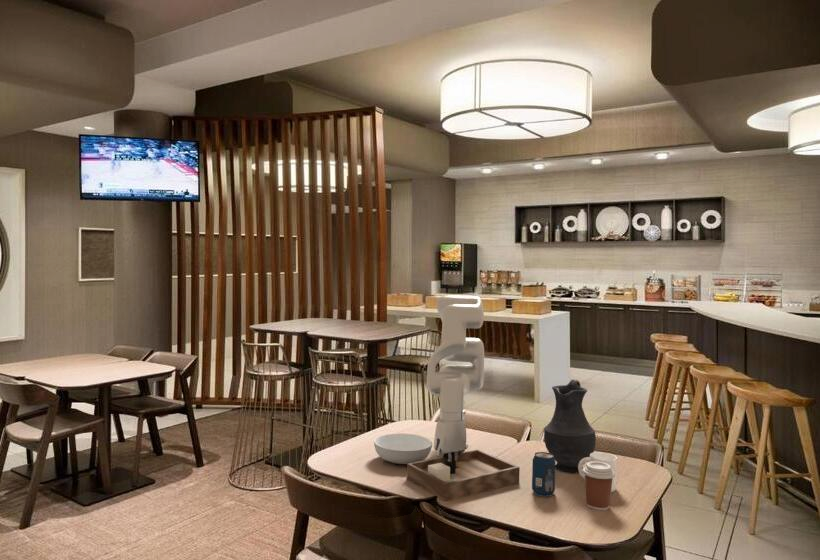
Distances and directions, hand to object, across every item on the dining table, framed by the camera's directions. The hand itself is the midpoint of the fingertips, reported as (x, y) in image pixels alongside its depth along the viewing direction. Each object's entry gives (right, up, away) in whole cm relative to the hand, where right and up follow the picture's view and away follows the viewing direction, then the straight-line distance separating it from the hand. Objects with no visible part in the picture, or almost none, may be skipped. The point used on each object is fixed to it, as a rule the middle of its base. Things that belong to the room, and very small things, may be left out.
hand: (450, 472), depth 184 cm
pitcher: (+43, -5, +18) cm, 47 cm away
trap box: (+4, -4, +3) cm, 6 cm away
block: (-4, -1, -3) cm, 5 cm away
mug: (+47, -5, 0) cm, 47 cm away
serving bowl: (-16, -3, +22) cm, 27 cm away
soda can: (+28, -5, -6) cm, 29 cm away
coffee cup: (+42, -5, -15) cm, 45 cm away
